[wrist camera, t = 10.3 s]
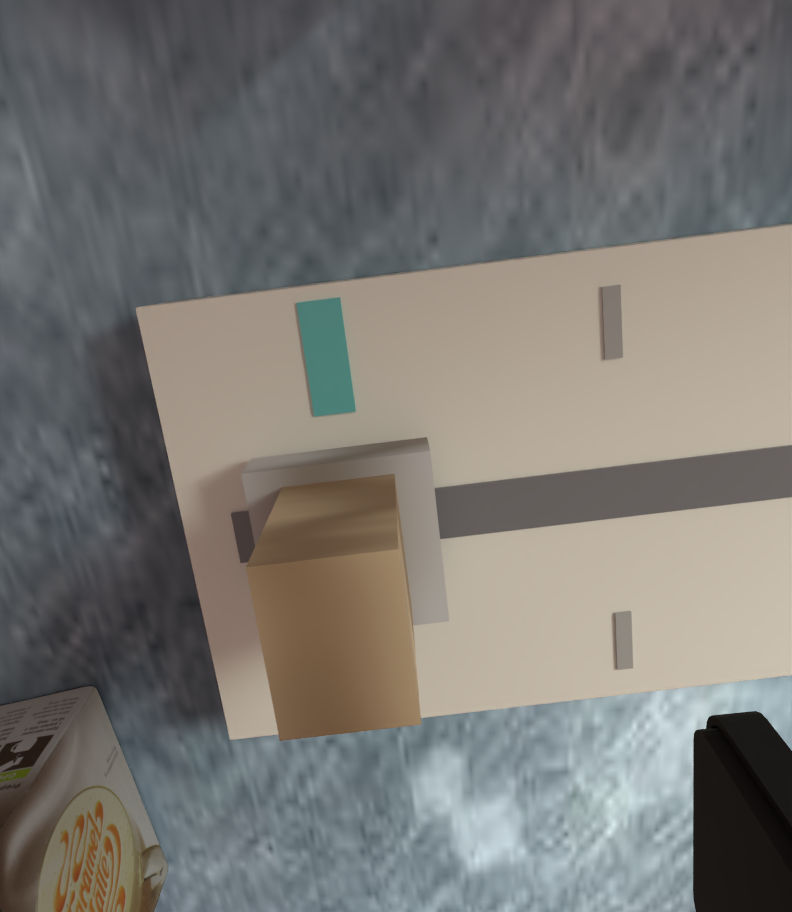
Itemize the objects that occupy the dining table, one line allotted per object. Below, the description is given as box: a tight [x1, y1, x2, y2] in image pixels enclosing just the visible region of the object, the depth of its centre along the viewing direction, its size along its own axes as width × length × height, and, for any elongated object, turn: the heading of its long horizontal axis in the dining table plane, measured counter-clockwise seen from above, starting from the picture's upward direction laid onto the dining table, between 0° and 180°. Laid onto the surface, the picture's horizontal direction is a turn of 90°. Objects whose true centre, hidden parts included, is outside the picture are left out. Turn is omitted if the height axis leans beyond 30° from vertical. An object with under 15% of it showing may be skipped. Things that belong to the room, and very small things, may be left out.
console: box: [136, 223, 792, 740], centre depth 22 cm, size 26×14×3 cm, turn 97°
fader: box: [241, 437, 449, 741], centre depth 17 cm, size 5×5×6 cm
